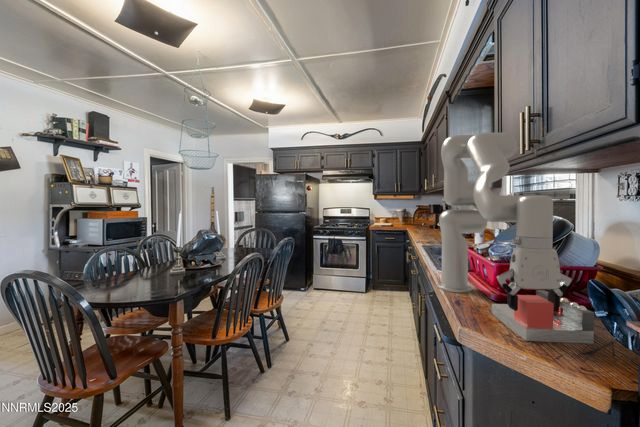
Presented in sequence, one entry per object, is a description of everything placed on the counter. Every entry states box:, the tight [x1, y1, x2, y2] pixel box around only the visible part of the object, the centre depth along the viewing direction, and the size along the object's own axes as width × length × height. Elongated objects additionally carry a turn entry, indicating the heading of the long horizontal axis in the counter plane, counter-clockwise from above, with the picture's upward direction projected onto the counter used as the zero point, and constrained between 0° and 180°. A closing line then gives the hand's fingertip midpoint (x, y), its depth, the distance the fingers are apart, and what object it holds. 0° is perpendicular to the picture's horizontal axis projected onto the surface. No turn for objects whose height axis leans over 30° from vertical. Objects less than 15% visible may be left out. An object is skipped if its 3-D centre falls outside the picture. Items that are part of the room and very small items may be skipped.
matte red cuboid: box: [514, 294, 554, 327], centre depth 75 cm, size 6×6×6 cm
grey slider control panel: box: [491, 289, 595, 344], centre depth 79 cm, size 18×15×8 cm
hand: (532, 309), depth 75 cm, fingers open, 9 cm apart
